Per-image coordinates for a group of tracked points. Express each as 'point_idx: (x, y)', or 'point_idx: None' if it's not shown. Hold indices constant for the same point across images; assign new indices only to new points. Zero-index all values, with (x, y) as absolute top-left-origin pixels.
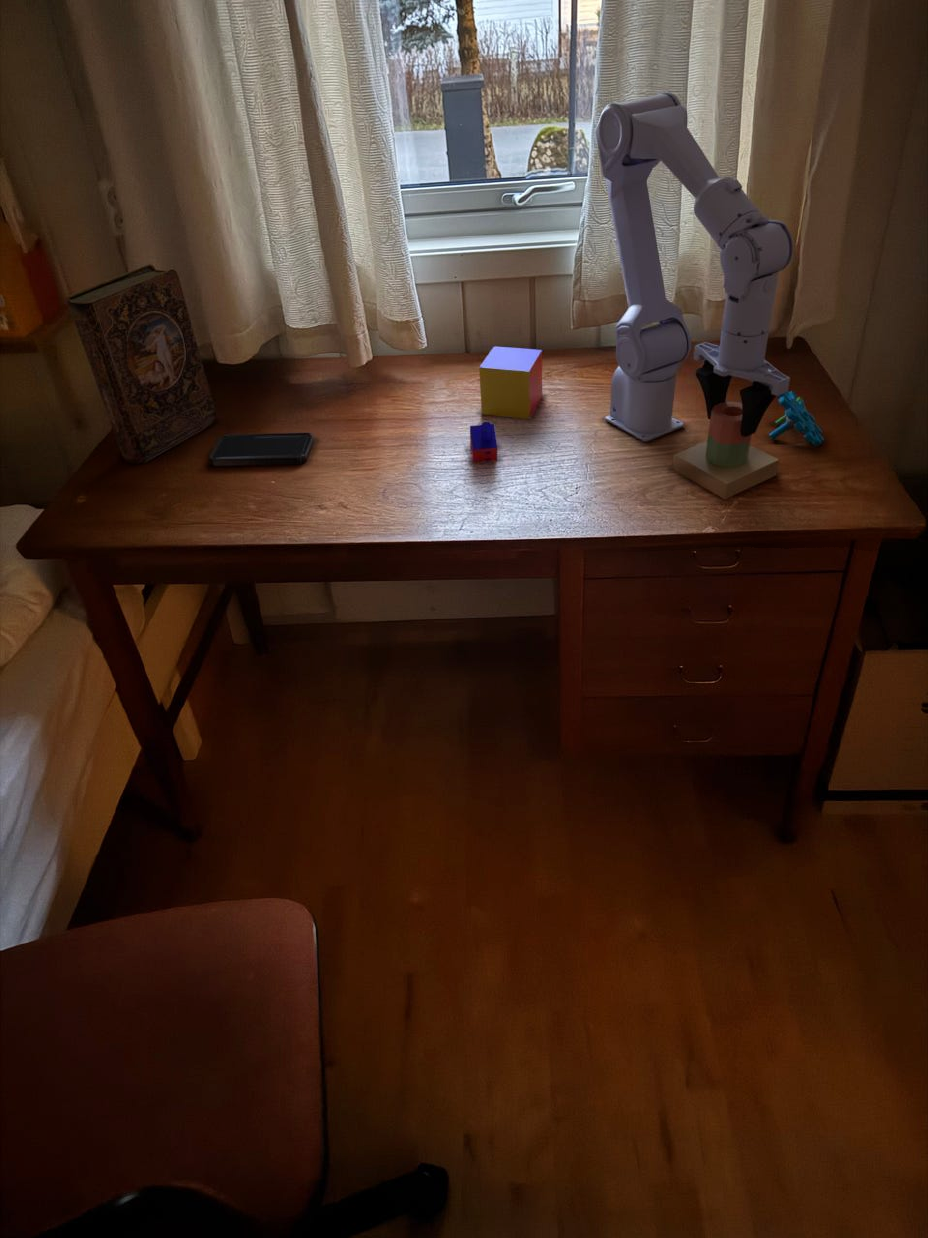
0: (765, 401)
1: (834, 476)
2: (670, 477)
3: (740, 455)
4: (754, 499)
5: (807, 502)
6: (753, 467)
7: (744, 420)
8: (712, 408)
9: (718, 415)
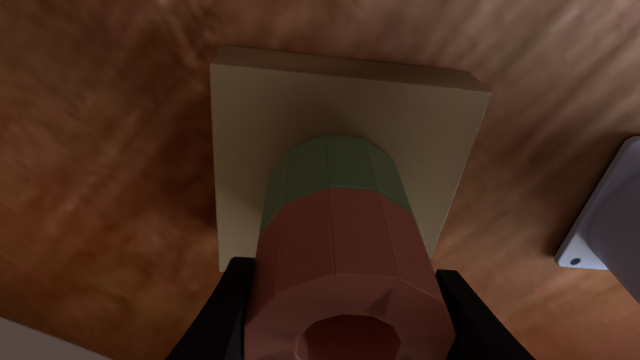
0: None
1: (145, 303)
2: (450, 25)
3: (264, 203)
4: (169, 113)
5: (80, 195)
6: (232, 201)
7: (214, 320)
8: (457, 318)
9: (379, 287)
